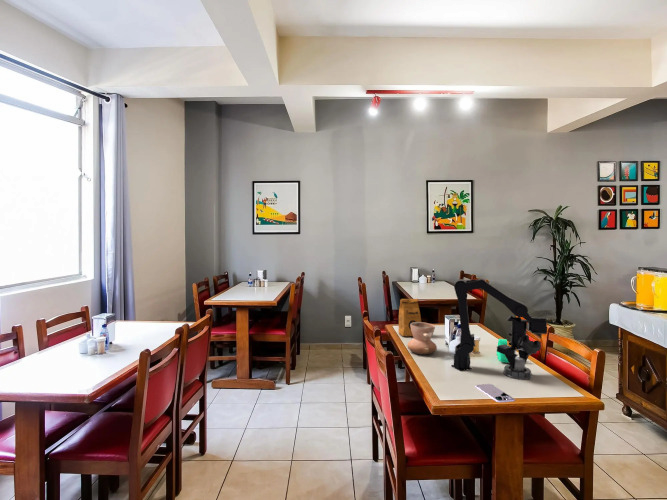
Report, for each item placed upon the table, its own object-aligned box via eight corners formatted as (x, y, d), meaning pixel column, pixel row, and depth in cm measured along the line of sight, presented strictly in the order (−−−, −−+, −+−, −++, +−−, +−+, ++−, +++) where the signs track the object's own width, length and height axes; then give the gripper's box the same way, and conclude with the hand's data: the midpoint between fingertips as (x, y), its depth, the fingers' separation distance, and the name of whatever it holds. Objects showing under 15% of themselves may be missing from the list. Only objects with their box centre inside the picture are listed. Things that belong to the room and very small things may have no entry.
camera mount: (518, 365, 172) (519, 343, 172) (500, 364, 174) (501, 342, 174) (513, 357, 184) (513, 337, 183) (496, 356, 186) (496, 335, 185)
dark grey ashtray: (518, 381, 153) (518, 374, 153) (497, 372, 163) (497, 366, 163) (537, 377, 157) (538, 371, 157) (516, 368, 167) (516, 363, 167)
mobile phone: (491, 383, 149) (516, 399, 135) (491, 385, 149) (516, 401, 135) (473, 384, 148) (497, 400, 133) (473, 386, 148) (497, 403, 133)
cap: (518, 373, 157) (518, 361, 156) (507, 369, 162) (508, 357, 162) (527, 371, 159) (528, 359, 159) (517, 367, 164) (517, 355, 164)
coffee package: (422, 337, 218) (423, 300, 217) (401, 337, 217) (402, 300, 216) (416, 333, 228) (417, 297, 227) (397, 333, 226) (397, 297, 226)
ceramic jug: (440, 357, 182) (441, 328, 181) (411, 357, 182) (412, 328, 181) (430, 347, 200) (431, 321, 199) (403, 346, 200) (404, 320, 199)
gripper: (518, 338, 149) (516, 377, 149) (551, 334, 156) (550, 371, 156) (496, 331, 159) (495, 368, 160) (528, 328, 166) (527, 363, 167)
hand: (517, 367), depth 160 cm, fingers closed on cap, 5 cm apart
